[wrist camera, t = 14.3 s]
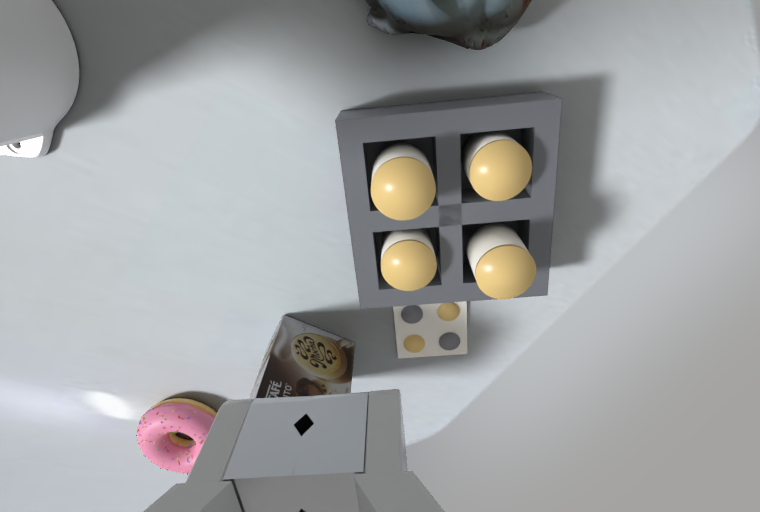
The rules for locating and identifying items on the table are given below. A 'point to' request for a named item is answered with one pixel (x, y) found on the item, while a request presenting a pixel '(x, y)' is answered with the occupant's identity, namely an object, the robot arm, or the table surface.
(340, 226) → the table surface
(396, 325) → the card
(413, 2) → the lucky cat figurine
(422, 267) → the button
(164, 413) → the doughnut
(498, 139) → the button
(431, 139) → the board
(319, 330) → the coffee box
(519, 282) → the button
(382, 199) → the button
